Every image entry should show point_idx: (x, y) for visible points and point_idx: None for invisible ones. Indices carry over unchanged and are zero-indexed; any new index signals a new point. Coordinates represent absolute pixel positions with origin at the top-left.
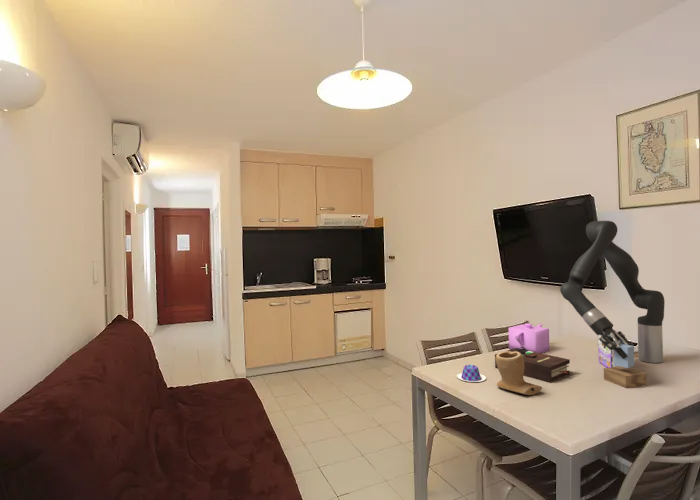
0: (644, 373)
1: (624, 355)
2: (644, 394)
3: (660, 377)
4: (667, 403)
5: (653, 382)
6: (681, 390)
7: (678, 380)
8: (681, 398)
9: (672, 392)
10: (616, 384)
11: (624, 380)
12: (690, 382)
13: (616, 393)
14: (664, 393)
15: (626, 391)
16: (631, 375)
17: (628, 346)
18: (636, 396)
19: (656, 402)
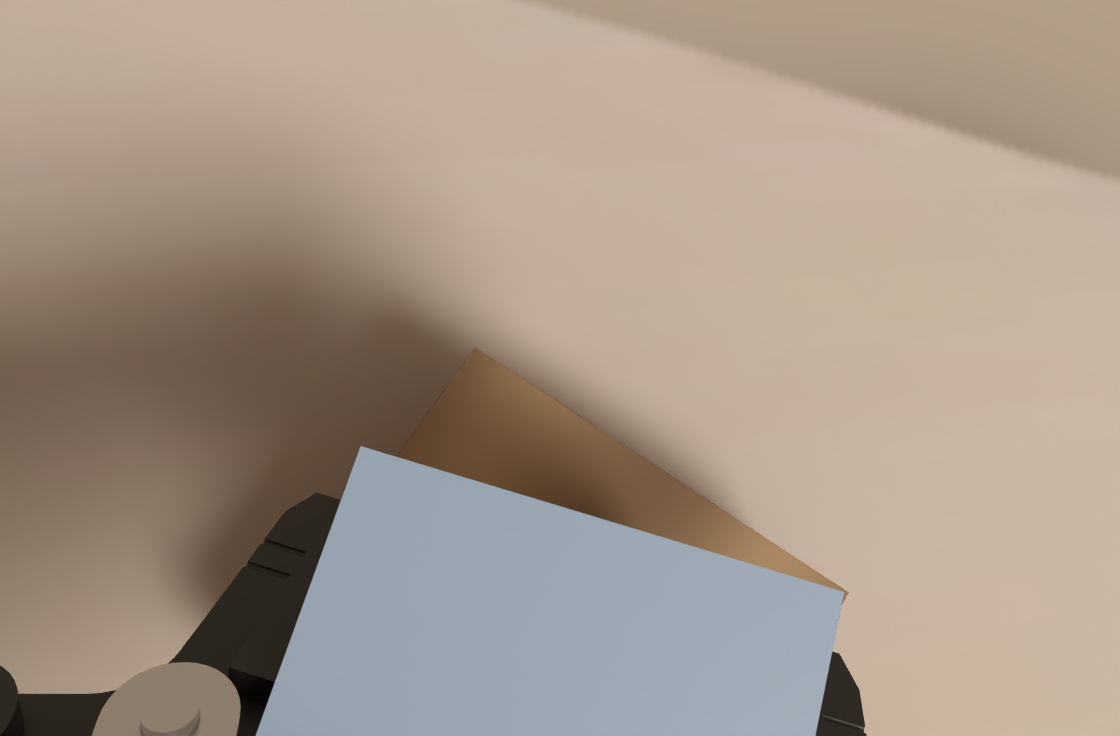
0: (499, 371)
1: (839, 659)
2: (877, 371)
3: (11, 293)
4: (1005, 157)
5: (303, 340)
6: (445, 78)
7: (40, 121)
8: (737, 65)
9: (584, 143)
10: None
11: None
12: (57, 20)
13: (1093, 650)
14: (681, 205)
15: (918, 560)
16: (737, 522)
17: (556, 604)
18: (1020, 435)
19: (1059, 243)
